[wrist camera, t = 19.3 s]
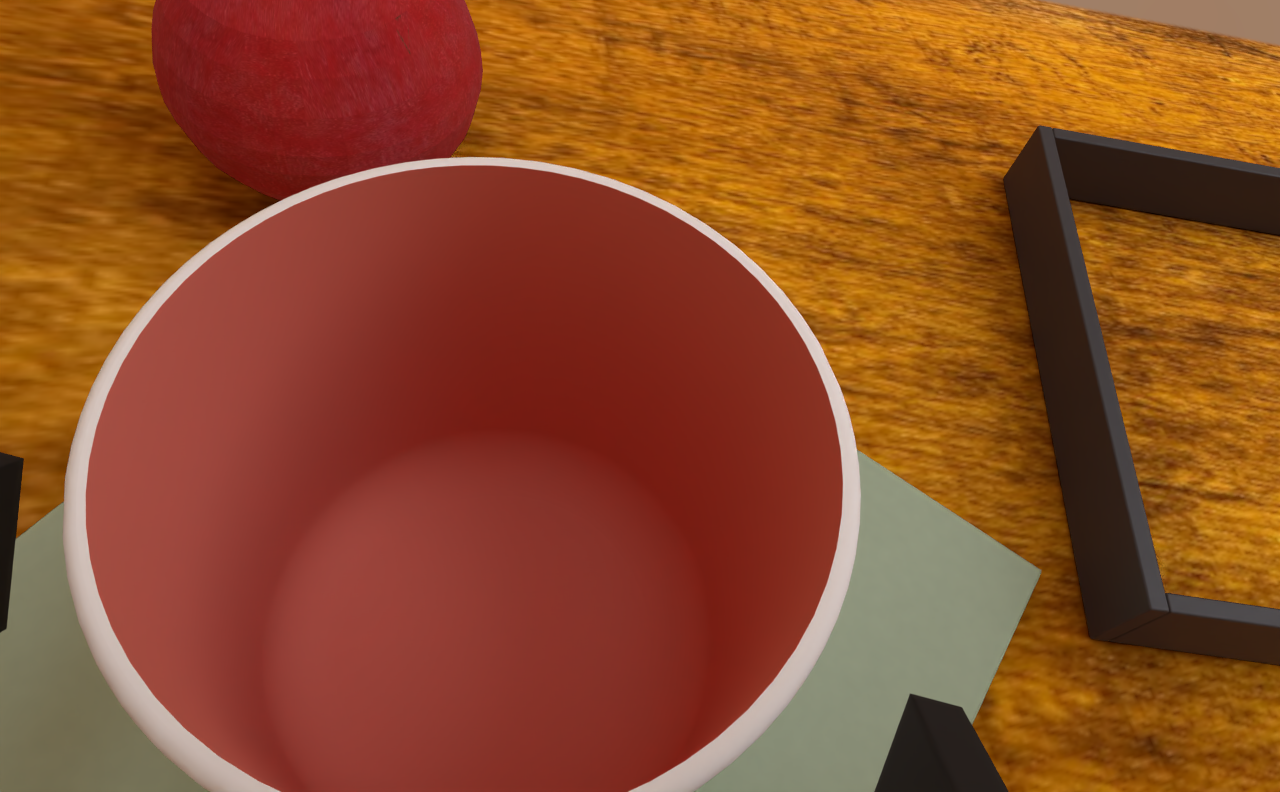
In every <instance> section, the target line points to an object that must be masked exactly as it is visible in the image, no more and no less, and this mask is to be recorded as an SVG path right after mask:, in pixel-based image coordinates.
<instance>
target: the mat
mask: <svg viewBox="0 0 1280 792" xmlns="http://www.w3.org/2000/svg"><path fill="white" fill-rule="evenodd" d="M857 455H858V462H859V472H860V489H861V504H860V527H859V534H858V542H857V550H856V557H855V561H854V565H853V569H852V574H851V578H850V582H849V587H848V590H847V593H846V596H845V599H844V601H843V604H842V607H841V610H840V613H839V616H838V619H837V621H836V623H835V626H834V628H833V630H832V632H831V635H830V637H829V639H828V641H827V643H826V645H825V647H824V649H823V651H822V653H821V655H820V656H819V658H818V660H817V662H816V664H815V665H814V667H813V669H812V671H811V672H810V674H809V675H808V677H807V679H806V680H805V681H804V683H803V684H802V686H801V687H800V689H799V690H798V691H797V693H796V694H795V696H794V697H793V698H792V700H791V701H790V703H789V704H788V705H787V707H786V708H785V709H784V710H783V711H782V712H781V714H780V715H779V716H778V717H777V718H776V719H775V720H774V722H773V723H772V724H771V725H770V726H769V727H768V728H767V730H766V731H765V732H764V733H763V734H762V735H761V736H760V737H759V738H758V739H757V740H756V741H755V742H754V743H753V744H752V745H751V746H750V747H748V748H747V749H746V750H745V751H744V752H743V753H742V754H741V755H740V756H739V757H738V758H737V759H736V760H735V761H733V762H732V763H731V764H730V765H729V766H727V767H726V768H725V769H723V770H722V771H721V772H720V773H718V774H717V775H716V776H714V777H713V778H712V779H710V780H709V781H708V782H706V783H705V784H704V785H702V786H701V787H700V788H698V789H697V790H695V791H694V792H874V791H875V788H876V786H877V783H878V780H879V777H880V775H881V772H882V769H883V766H884V764H885V761H886V758H887V755H888V753H889V750H890V747H891V744H892V742H893V739H894V736H895V733H896V731H897V728H898V725H899V722H900V720H901V717H902V714H903V711H904V709H905V706H906V703H907V700H908V698H909V695H910V693H911V694H914V695H918V696H922V697H926V698H930V699H933V700H937V701H941V702H945V703H948V704H952V705H956V706H960V707H962V708H963V710H964V712H965V713H966V715H967V717H968V719H969V721H970V722H971V724H973V722H974V719H975V717H976V715H977V713H978V711H979V708H980V706H981V704H982V702H983V700H984V697H985V695H986V693H987V691H988V689H989V686H990V684H991V682H992V680H993V678H994V675H995V673H996V671H997V669H998V667H999V664H1000V662H1001V660H1002V658H1003V656H1004V654H1005V651H1006V649H1007V647H1008V645H1009V643H1010V640H1011V638H1012V636H1013V634H1014V632H1015V629H1016V627H1017V625H1018V623H1019V621H1020V618H1021V616H1022V614H1023V612H1024V610H1025V607H1026V605H1027V603H1028V601H1029V599H1030V596H1031V594H1032V592H1033V590H1034V588H1035V585H1036V583H1037V581H1038V579H1039V577H1040V574H1041V570H1040V569H1038V568H1037V567H1035V566H1034V565H1032V564H1031V563H1029V562H1028V561H1026V560H1025V559H1023V558H1022V557H1020V556H1019V555H1017V554H1016V553H1014V552H1012V551H1011V550H1009V549H1008V548H1006V547H1005V546H1003V545H1002V544H1000V543H999V542H997V541H996V540H994V539H993V538H991V537H990V536H988V535H987V534H985V533H983V532H982V531H980V530H979V529H977V528H976V527H974V526H973V525H971V524H970V523H968V522H967V521H965V520H964V519H962V518H961V517H959V516H958V515H956V514H954V513H953V512H951V511H950V510H948V509H947V508H945V507H944V506H942V505H941V504H939V503H938V502H936V501H935V500H933V499H932V498H930V497H929V496H927V495H925V494H924V493H922V492H921V491H919V490H918V489H916V488H915V487H913V486H912V485H910V484H909V483H907V482H906V481H904V480H903V479H901V478H900V477H898V476H896V475H895V474H893V473H892V472H890V471H889V470H887V469H886V468H884V467H883V466H881V465H880V464H878V463H877V462H875V461H874V460H872V459H871V458H869V457H867V456H866V455H864V454H863V453H861V452H860V451H858V450H857ZM63 514H64V502H62V503H61V504H60V505H59V506H57V507H56V508H55V509H53V510H52V511H51V512H50V513H48V514H47V515H46V516H45V517H43V518H42V519H41V520H39V521H38V522H37V523H36V524H34V525H33V526H32V527H30V528H29V529H28V530H27V531H25V532H24V533H23V534H22V535H20V536H19V537H18V538H16V540H15V550H14V560H13V570H12V580H11V590H10V600H9V610H8V620H7V629H6V630H4V631H2V632H1V633H0V792H210V791H208V790H207V789H205V788H203V787H202V786H201V785H199V784H198V783H197V782H195V781H194V780H193V779H192V778H191V777H190V776H188V775H187V774H186V773H185V772H184V771H182V770H181V769H180V768H179V767H178V766H177V765H175V764H174V763H173V762H172V761H171V760H169V759H168V758H167V757H166V756H165V755H164V754H163V753H162V752H161V751H160V750H159V749H158V748H157V747H156V746H155V745H154V744H153V743H152V742H151V741H150V740H149V738H148V737H147V736H146V735H145V734H144V733H143V732H142V730H141V729H140V728H139V727H138V726H137V725H136V724H135V722H134V721H133V720H132V719H131V717H130V716H129V715H128V713H127V712H126V711H125V710H124V708H123V707H122V706H121V704H120V702H119V701H118V699H117V698H116V696H115V695H114V693H113V692H112V690H111V688H110V687H109V685H108V683H107V682H106V680H105V678H104V677H103V675H102V673H101V671H100V670H99V668H98V666H97V664H96V662H95V660H94V658H93V655H92V653H91V651H90V648H89V646H88V644H87V641H86V639H85V636H84V634H83V631H82V629H81V627H80V624H79V622H78V618H77V614H76V610H75V606H74V602H73V598H72V595H71V591H70V587H69V583H68V579H67V572H66V564H65V555H64V547H63V538H62V536H63Z"/></svg>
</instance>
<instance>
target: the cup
mask: <svg viewBox="0 0 1280 792" xmlns="http://www.w3.org/2000/svg"><path fill="white" fill-rule="evenodd" d="M860 504H861V489H860V472H859V462H858V455H857V449H856V442H855V437H854V433H853V429H852V425H851V420H850V416H849V412H848V409H847V406H846V403H845V400H844V397H843V394H842V391H841V388H840V386H839V384H838V382H837V380H836V378H835V375H834V373H833V371H832V369H831V367H830V365H829V363H828V361H827V358H826V356H825V354H824V352H823V350H822V348H821V346H820V344H819V342H818V341H817V339H816V337H815V336H814V334H813V333H812V331H811V329H810V328H809V326H808V325H807V323H806V322H805V320H804V318H803V317H802V316H801V314H800V313H799V312H798V310H797V309H796V308H795V307H794V305H793V304H792V303H791V301H790V300H789V299H788V298H787V296H786V295H785V294H784V292H783V291H782V290H781V289H780V288H779V287H778V286H777V285H776V284H775V283H774V282H773V281H772V280H771V278H770V277H769V276H768V275H767V274H766V273H765V272H764V271H763V270H762V269H761V268H760V267H759V266H758V265H757V264H756V263H755V262H753V261H752V260H751V259H750V258H749V257H748V256H747V255H745V254H744V253H743V252H742V251H741V250H740V249H739V248H737V247H736V246H735V245H734V244H733V243H731V242H730V241H728V240H727V239H726V238H724V237H723V236H722V235H720V234H719V233H717V232H716V231H715V230H713V229H712V228H711V227H709V226H708V225H706V224H705V223H703V222H701V221H700V220H698V219H696V218H695V217H693V216H691V215H690V214H688V213H686V212H685V211H683V210H681V209H680V208H678V207H676V206H674V205H672V204H670V203H668V202H666V201H664V200H662V199H659V198H657V197H655V196H653V195H651V194H649V193H647V192H645V191H642V190H640V189H637V188H634V187H632V186H629V185H626V184H624V183H621V182H618V181H616V180H613V179H610V178H607V177H603V176H600V175H596V174H593V173H589V172H585V171H582V170H578V169H574V168H569V167H564V166H559V165H553V164H548V163H543V162H536V161H527V160H518V159H508V158H484V157H462V158H440V159H430V160H421V161H413V162H404V163H399V164H394V165H389V166H384V167H379V168H373V169H369V170H366V171H362V172H358V173H355V174H351V175H347V176H344V177H340V178H337V179H334V180H331V181H328V182H325V183H322V184H319V185H317V186H314V187H311V188H309V189H306V190H304V191H302V192H299V193H297V194H294V195H292V196H290V197H287V198H285V199H283V200H281V201H279V202H277V203H275V204H273V205H271V206H269V207H267V208H265V209H263V210H261V211H259V212H258V213H256V214H254V215H253V216H251V217H249V218H248V219H246V220H244V221H242V222H241V223H239V224H237V225H236V226H234V227H233V228H231V229H230V230H228V231H227V232H225V233H224V234H222V235H221V236H220V237H218V238H217V239H215V240H214V241H212V242H211V243H210V244H208V245H207V246H206V247H205V248H203V249H202V250H201V251H200V252H198V253H197V254H196V255H195V256H193V257H192V258H191V259H190V260H188V261H187V262H186V263H185V264H184V265H183V266H182V267H181V268H180V269H179V270H177V271H176V272H175V273H174V274H173V275H172V276H171V277H170V278H169V279H168V280H167V281H166V282H165V283H164V284H163V285H162V286H161V287H160V288H159V289H158V290H157V291H156V292H155V294H154V295H153V296H152V297H151V298H150V299H149V300H148V301H147V302H146V304H145V305H144V306H143V307H142V308H141V309H140V311H139V312H138V313H137V315H136V316H135V317H134V319H133V320H132V321H131V323H130V324H129V325H128V326H127V328H126V329H125V330H124V332H123V333H122V335H121V336H120V338H119V339H118V341H117V343H116V344H115V346H114V347H113V349H112V351H111V352H110V354H109V355H108V357H107V358H106V360H105V362H104V364H103V366H102V368H101V370H100V372H99V374H98V376H97V378H96V380H95V382H94V384H93V386H92V388H91V390H90V393H89V395H88V398H87V400H86V403H85V405H84V408H83V410H82V413H81V415H80V418H79V422H78V425H77V429H76V432H75V435H74V439H73V442H72V446H71V450H70V455H69V460H68V465H67V471H66V476H65V492H64V514H63V536H62V538H63V547H64V555H65V564H66V572H67V579H68V583H69V587H70V591H71V595H72V598H73V602H74V606H75V610H76V614H77V618H78V622H79V624H80V627H81V629H82V631H83V634H84V636H85V639H86V641H87V644H88V646H89V648H90V651H91V653H92V655H93V658H94V660H95V662H96V664H97V666H98V668H99V670H100V671H101V673H102V675H103V677H104V678H105V680H106V682H107V683H108V685H109V687H110V688H111V690H112V692H113V693H114V695H115V696H116V698H117V699H118V701H119V702H120V704H121V706H122V707H123V708H124V710H125V711H126V712H127V713H128V715H129V716H130V717H131V719H132V720H133V721H134V722H135V724H136V725H137V726H138V727H139V728H140V729H141V730H142V732H143V733H144V734H145V735H146V736H147V737H148V738H149V740H150V741H151V742H152V743H153V744H154V745H155V746H156V747H157V748H158V749H159V750H160V751H161V752H162V753H163V754H164V755H165V756H166V757H167V758H168V759H169V760H171V761H172V762H173V763H174V764H175V765H177V766H178V767H179V768H180V769H181V770H182V771H184V772H185V773H186V774H187V775H188V776H190V777H191V778H192V779H193V780H194V781H195V782H197V783H198V784H199V785H201V786H202V787H203V788H205V789H207V790H208V791H210V792H694V791H695V790H697V789H698V788H700V787H701V786H702V785H704V784H705V783H706V782H708V781H709V780H710V779H712V778H713V777H714V776H716V775H717V774H718V773H720V772H721V771H722V770H723V769H725V768H726V767H727V766H729V765H730V764H731V763H732V762H733V761H735V760H736V759H737V758H738V757H739V756H740V755H741V754H742V753H743V752H744V751H745V750H746V749H747V748H748V747H750V746H751V745H752V744H753V743H754V742H755V741H756V740H757V739H758V738H759V737H760V736H761V735H762V734H763V733H764V732H765V731H766V730H767V728H768V727H769V726H770V725H771V724H772V723H773V722H774V720H775V719H776V718H777V717H778V716H779V715H780V714H781V712H782V711H783V710H784V709H785V708H786V707H787V705H788V704H789V703H790V701H791V700H792V698H793V697H794V696H795V694H796V693H797V691H798V690H799V689H800V687H801V686H802V684H803V683H804V681H805V680H806V679H807V677H808V675H809V674H810V672H811V671H812V669H813V667H814V665H815V664H816V662H817V660H818V658H819V656H820V655H821V653H822V651H823V649H824V647H825V645H826V643H827V641H828V639H829V637H830V635H831V632H832V630H833V628H834V626H835V623H836V621H837V619H838V616H839V613H840V610H841V607H842V604H843V601H844V599H845V596H846V593H847V590H848V587H849V582H850V578H851V574H852V569H853V565H854V561H855V557H856V550H857V542H858V534H859V527H860Z"/></svg>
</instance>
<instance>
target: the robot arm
mask: <svg viewBox="0 0 1280 792" xmlns="http://www.w3.org/2000/svg"><path fill="white" fill-rule="evenodd" d="M23 460H24V459H23V458H20V457H16V456H12V455H8V454H5V453H1V452H0V633H1V632H2V631H4V630H6V629H7V620H8V610H9V600H10V590H11V580H12V570H13V560H14V550H15V540H16V530H17V520H18V510H19V500H20V490H21V480H22V470H23ZM874 792H1008V790H1007V788H1006V786H1005V784H1004V783H1003V781H1002V779H1001V777H1000V775H999V773H998V772H997V770H996V768H995V766H994V764H993V763H992V761H991V759H990V757H989V755H988V753H987V752H986V750H985V748H984V746H983V744H982V742H981V741H980V739H979V737H978V735H977V733H976V732H975V730H974V728H973V726H972V724H971V722H970V721H969V719H968V717H967V715H966V713H965V712H964V710H963V708H962V707H960V706H956V705H952V704H948V703H945V702H941V701H937V700H933V699H930V698H926V697H922V696H918V695H914V694H911V693H910V695H909V698H908V700H907V703H906V706H905V709H904V711H903V714H902V717H901V720H900V722H899V725H898V728H897V731H896V733H895V736H894V739H893V742H892V744H891V747H890V750H889V753H888V755H887V758H886V761H885V764H884V766H883V769H882V772H881V775H880V777H879V780H878V783H877V786H876V788H875V791H874Z"/></svg>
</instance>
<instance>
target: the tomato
mask: <svg viewBox="0 0 1280 792" xmlns="http://www.w3.org/2000/svg"><path fill="white" fill-rule="evenodd" d="M152 54H153V65H154V69H155V73H156V77H157V81H158V85H159V88H160V91H161V94H162V97H163V100H164V103H165V104H166V106H167V108H168V109H169V111H170V112H171V114H172V116H173V117H174V119H175V121H176V122H177V123H178V125H179V126H180V127H181V128H182V130H183V131H184V132H185V133H186V135H187V136H188V137H189V138H190V139H191V141H192V142H193V143H194V144H195V146H196V147H197V148H198V149H199V151H200V152H201V153H202V154H203V155H204V156H205V157H206V158H207V159H209V160H210V161H211V162H212V163H213V164H214V165H215V166H216V167H217V168H218V169H220V170H221V171H223V172H224V173H226V174H228V175H229V176H231V177H233V178H234V179H236V180H237V181H239V182H241V183H243V184H245V185H247V186H249V187H251V188H253V189H255V190H256V191H258V192H260V193H262V194H264V195H267V196H270V197H272V198H275V199H277V200H280V201H281V200H283V199H285V198H287V197H290V196H292V195H294V194H297V193H299V192H302V191H304V190H306V189H309V188H311V187H314V186H317V185H319V184H322V183H325V182H328V181H331V180H334V179H337V178H340V177H344V176H347V175H351V174H355V173H358V172H362V171H366V170H369V169H373V168H379V167H384V166H389V165H394V164H399V163H404V162H413V161H421V160H430V159H440V158H449V157H450V156H451V155H452V154H453V153H454V151H455V150H456V149H457V147H458V146H459V145H460V144H461V142H462V141H463V140H464V138H465V136H466V133H467V131H468V129H469V126H470V124H471V121H472V118H473V115H474V111H475V108H476V104H477V101H478V97H479V94H480V90H481V82H482V72H483V69H482V59H481V51H480V46H479V41H478V36H477V32H476V29H475V27H474V24H473V21H472V18H471V16H470V13H469V10H468V8H467V5H466V3H465V1H464V0H156V2H155V6H154V9H153V19H152Z"/></svg>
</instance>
